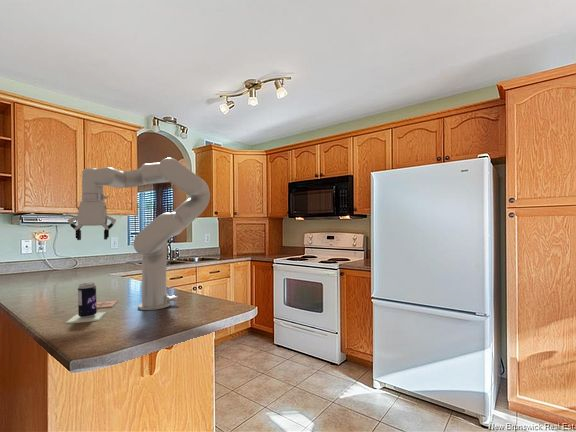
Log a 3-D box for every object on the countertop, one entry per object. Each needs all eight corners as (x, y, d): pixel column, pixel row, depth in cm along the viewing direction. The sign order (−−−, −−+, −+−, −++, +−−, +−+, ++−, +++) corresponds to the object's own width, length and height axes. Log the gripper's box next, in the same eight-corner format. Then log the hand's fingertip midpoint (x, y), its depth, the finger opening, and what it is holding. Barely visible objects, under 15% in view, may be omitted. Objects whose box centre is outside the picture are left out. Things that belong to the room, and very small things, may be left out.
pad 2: (117, 302, 144) (117, 300, 144) (112, 307, 135) (112, 305, 135) (92, 304, 142) (92, 302, 142) (84, 309, 132) (84, 307, 132)
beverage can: (88, 319, 116) (87, 285, 116) (74, 318, 117) (73, 285, 117) (100, 314, 121) (99, 282, 121) (87, 314, 122) (86, 282, 122)
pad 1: (105, 313, 125) (105, 311, 125) (98, 320, 116) (98, 318, 116) (76, 316, 122) (76, 314, 122) (66, 323, 113) (66, 321, 113)
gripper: (117, 199, 141) (117, 238, 140) (71, 198, 135) (70, 240, 134) (114, 198, 134) (114, 239, 133) (65, 197, 128) (65, 240, 127)
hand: (92, 239), depth 134 cm, fingers open, 9 cm apart
